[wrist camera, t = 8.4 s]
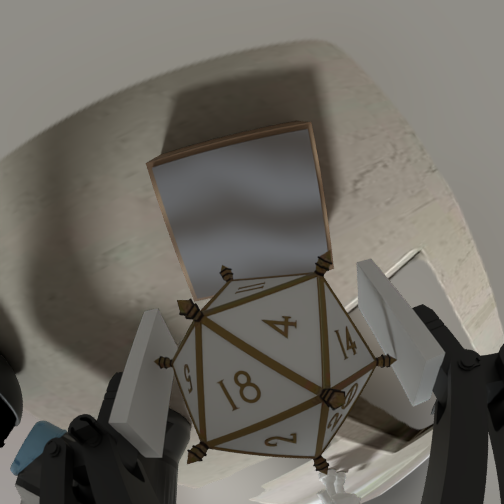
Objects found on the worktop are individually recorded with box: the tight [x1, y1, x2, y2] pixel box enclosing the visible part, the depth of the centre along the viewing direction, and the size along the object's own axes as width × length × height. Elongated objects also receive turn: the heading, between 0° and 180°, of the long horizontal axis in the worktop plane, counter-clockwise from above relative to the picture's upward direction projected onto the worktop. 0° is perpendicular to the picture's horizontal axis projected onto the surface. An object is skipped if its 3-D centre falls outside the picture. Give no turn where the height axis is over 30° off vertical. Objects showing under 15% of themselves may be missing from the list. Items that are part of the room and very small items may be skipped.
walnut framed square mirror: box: [146, 121, 334, 301], centre depth 28 cm, size 14×14×6 cm
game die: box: [154, 250, 397, 475], centre depth 11 cm, size 9×8×10 cm
